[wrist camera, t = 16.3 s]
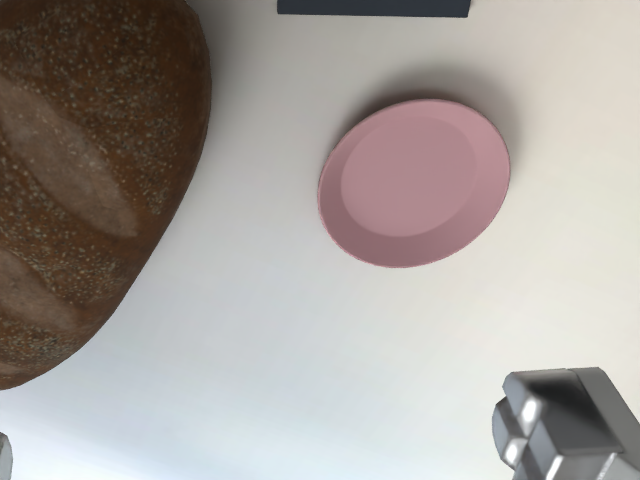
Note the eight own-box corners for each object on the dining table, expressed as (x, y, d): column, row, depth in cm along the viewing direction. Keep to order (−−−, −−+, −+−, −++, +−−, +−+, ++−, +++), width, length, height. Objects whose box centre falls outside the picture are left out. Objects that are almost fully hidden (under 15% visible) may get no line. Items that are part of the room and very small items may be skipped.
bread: (274, 42, 37) (282, 95, 30) (55, 382, 52) (29, 466, 46) (20, -124, 30) (-42, -106, 23) (-143, 321, 46) (-209, 409, 39)
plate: (275, 184, 43) (276, 198, 41) (425, 44, 38) (434, 54, 36) (395, 280, 50) (400, 296, 48) (535, 173, 45) (546, 186, 43)
